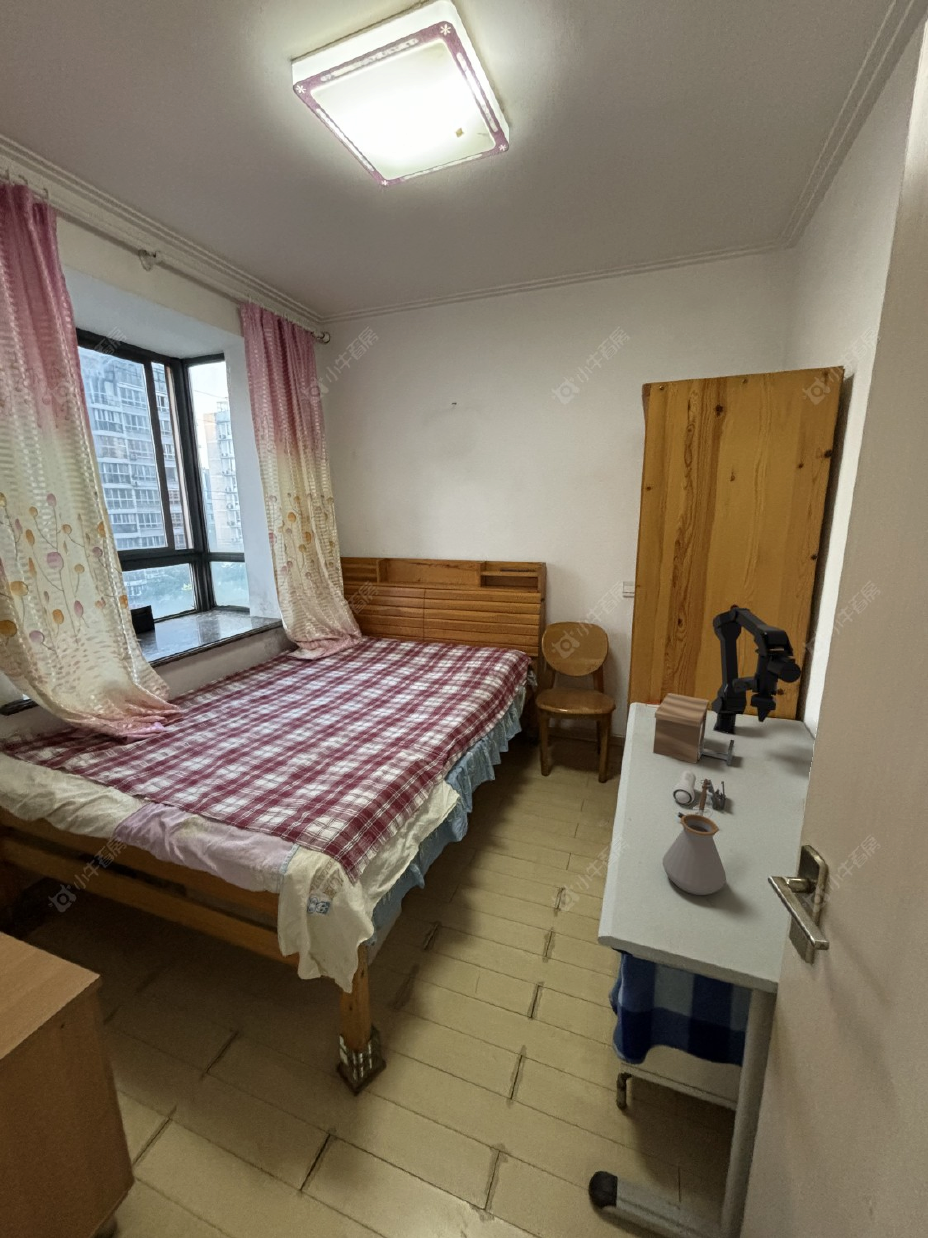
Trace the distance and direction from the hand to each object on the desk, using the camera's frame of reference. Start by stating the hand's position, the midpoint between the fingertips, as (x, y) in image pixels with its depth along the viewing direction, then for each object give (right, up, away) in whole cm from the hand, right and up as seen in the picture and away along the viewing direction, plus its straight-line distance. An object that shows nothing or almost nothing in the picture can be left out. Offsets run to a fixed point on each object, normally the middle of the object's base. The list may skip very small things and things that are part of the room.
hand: (760, 721), depth 149 cm
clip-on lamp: (-31, -17, -25) cm, 43 cm away
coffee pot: (-41, -21, -45) cm, 65 cm away
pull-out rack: (-17, -10, +3) cm, 20 cm away
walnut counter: (-22, -10, +6) cm, 25 cm away
